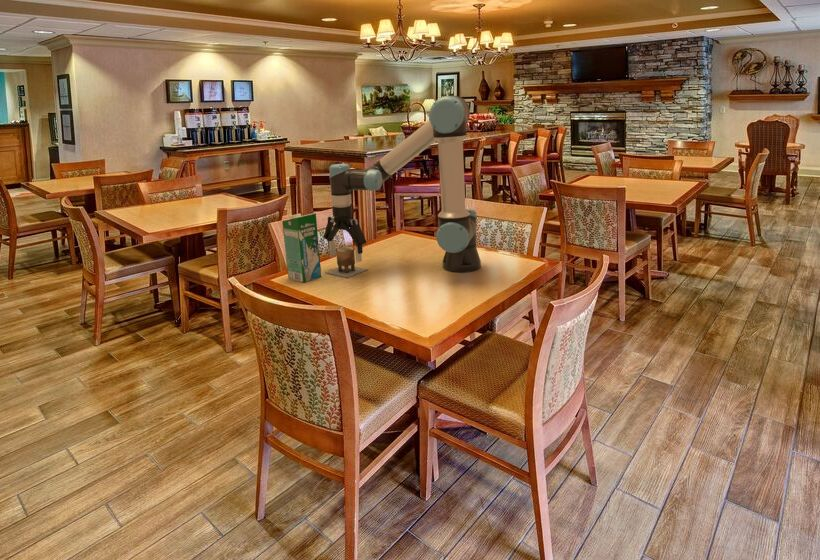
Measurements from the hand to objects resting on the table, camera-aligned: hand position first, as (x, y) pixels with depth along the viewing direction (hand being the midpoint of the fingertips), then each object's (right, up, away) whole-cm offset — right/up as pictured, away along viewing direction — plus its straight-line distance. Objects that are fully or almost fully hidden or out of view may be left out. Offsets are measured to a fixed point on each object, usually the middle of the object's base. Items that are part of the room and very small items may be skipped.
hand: (345, 259), depth 221 cm
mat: (0, -5, +2) cm, 5 cm away
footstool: (0, -5, +2) cm, 5 cm away
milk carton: (-15, -8, -4) cm, 17 cm away
